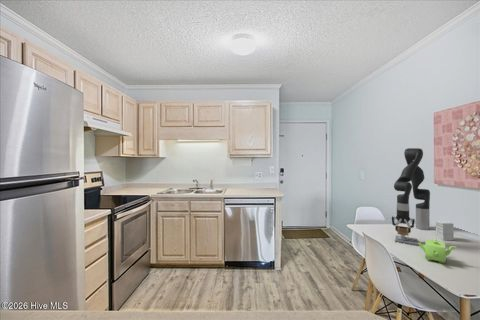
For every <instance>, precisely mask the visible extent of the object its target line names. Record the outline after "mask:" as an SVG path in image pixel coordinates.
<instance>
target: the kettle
mask: <svg viewBox="0 0 480 320" xmlns="http://www.w3.org/2000/svg"><path fill="white" fill-rule="evenodd" d="M418 246H419V247H420V248H421V249H422V251H423V252H424V254H425V255H424V256H425V259H426V260H427V261H430V262H431V261H437V262H438V263H440V264H444V263H447V261H446V259H447V256H449V255H450V254H451V253H452V250H453V249H454V248H456V246H455V245H454V246H453V245H450V246H449V248H448V249H446V243H445V242H443V241H438V240H437V238H433V240H431V239H425V245H424V244H423V243H421V242H418Z"/></svg>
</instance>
